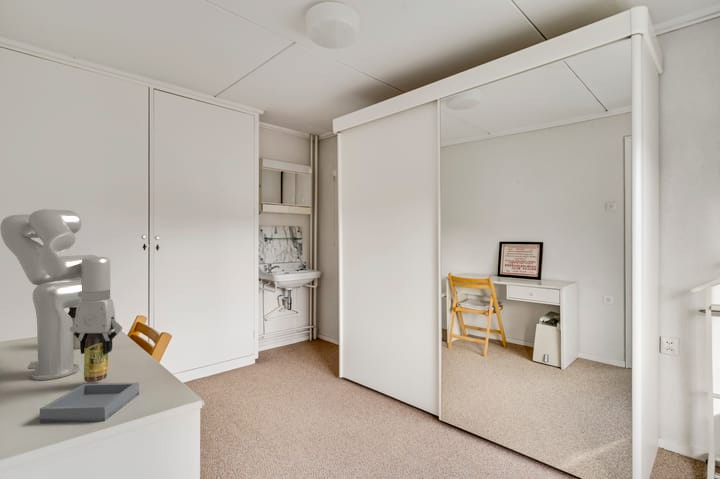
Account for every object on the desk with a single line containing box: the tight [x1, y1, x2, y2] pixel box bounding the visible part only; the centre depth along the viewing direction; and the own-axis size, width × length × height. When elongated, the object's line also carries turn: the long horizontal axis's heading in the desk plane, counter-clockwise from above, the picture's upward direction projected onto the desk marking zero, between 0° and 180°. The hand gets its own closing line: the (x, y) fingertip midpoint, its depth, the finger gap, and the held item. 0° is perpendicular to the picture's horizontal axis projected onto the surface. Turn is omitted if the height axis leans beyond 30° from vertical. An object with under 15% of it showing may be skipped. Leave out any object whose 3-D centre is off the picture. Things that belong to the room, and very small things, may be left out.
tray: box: [39, 381, 140, 424], centre depth 103 cm, size 16×16×4 cm
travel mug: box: [67, 306, 80, 350], centre depth 160 cm, size 8×8×18 cm
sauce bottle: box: [83, 333, 109, 383], centre depth 119 cm, size 7×6×20 cm
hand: (96, 351), depth 119 cm, fingers closed on sauce bottle, 6 cm apart
